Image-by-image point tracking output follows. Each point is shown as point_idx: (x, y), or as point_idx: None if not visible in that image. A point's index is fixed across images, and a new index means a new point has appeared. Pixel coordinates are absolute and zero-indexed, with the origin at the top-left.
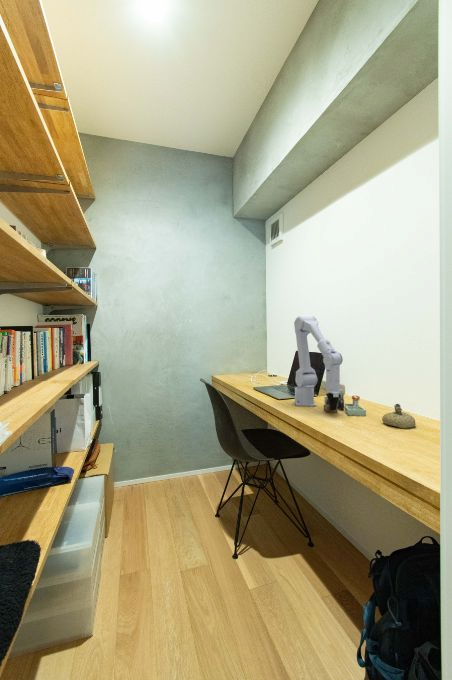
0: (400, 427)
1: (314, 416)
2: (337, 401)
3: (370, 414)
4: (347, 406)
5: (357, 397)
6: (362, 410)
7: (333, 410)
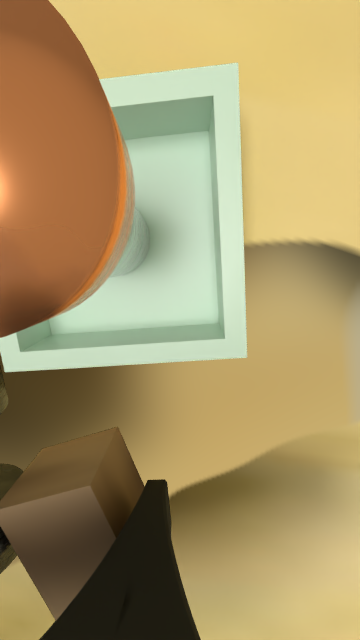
0: None
1: (306, 624)
2: (186, 600)
3: (116, 28)
4: (19, 337)
5: (94, 100)
6: (237, 134)
7: (129, 483)
